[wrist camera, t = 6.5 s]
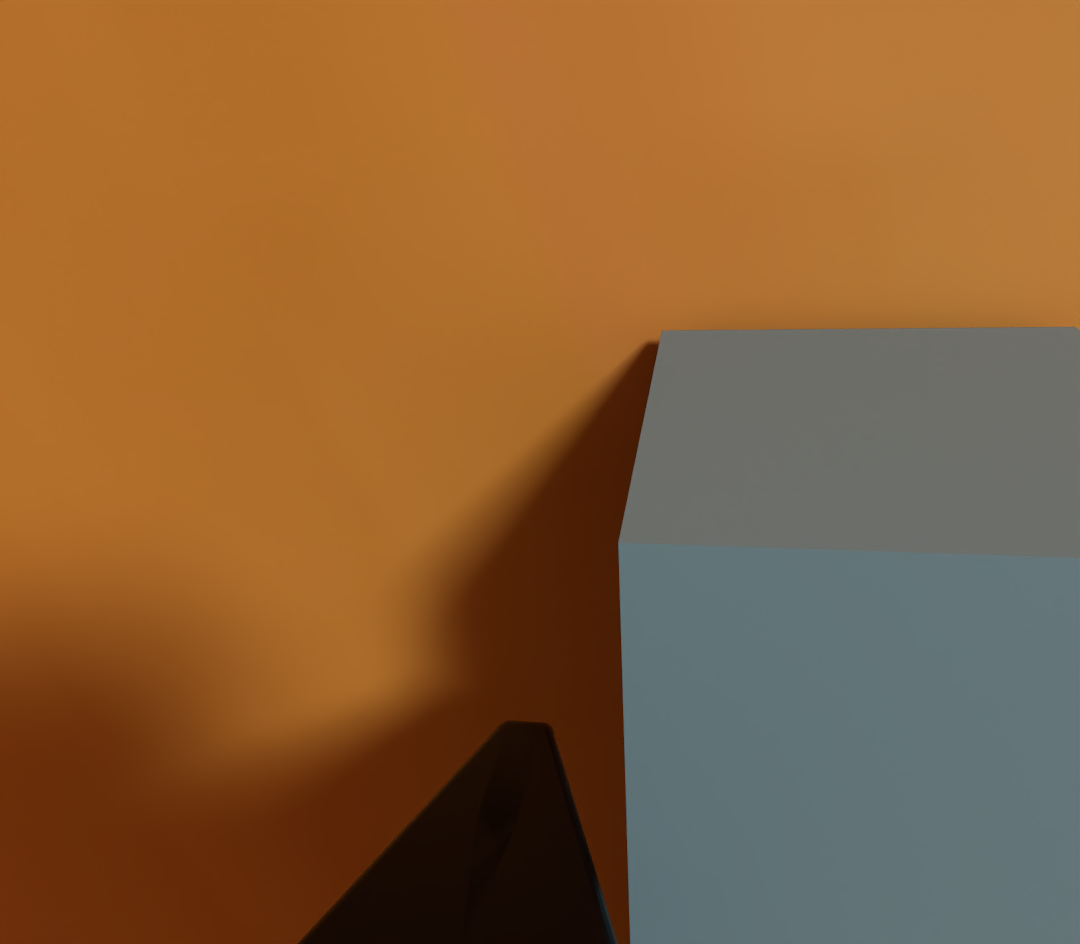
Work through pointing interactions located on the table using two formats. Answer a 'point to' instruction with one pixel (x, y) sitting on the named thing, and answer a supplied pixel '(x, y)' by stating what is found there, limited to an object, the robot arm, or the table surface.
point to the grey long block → (854, 638)
